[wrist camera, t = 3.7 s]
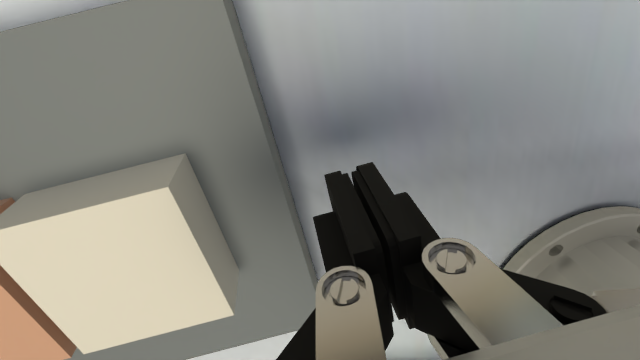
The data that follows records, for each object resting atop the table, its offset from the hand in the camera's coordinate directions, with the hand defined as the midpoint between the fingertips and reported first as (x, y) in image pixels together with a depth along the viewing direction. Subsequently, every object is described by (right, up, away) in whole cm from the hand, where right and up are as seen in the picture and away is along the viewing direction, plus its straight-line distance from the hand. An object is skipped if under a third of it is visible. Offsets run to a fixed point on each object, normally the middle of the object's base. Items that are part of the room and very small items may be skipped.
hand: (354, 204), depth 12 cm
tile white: (-8, -1, +2) cm, 9 cm away
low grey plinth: (-11, -1, +5) cm, 12 cm away
